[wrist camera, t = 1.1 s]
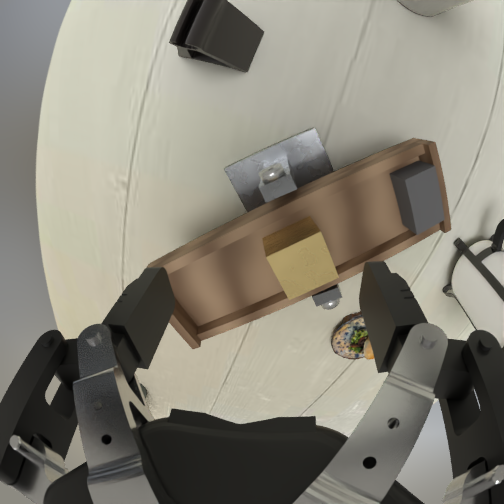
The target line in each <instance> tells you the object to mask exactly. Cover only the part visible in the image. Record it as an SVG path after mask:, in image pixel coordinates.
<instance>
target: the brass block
mask: <svg viewBox="0 0 504 504" xmlns="http://www.w3.org/2000/svg"><path fill="white" fill-rule="evenodd" d="M262 239H263V244H264V250H265V255H266V258H267V260H268V262H269V264H270V266H271V267H272V269H273V271H274V273H275V275H276V277H277V279H278V280H279V282H280V284H281V286H282V288H283V290H284V292H285V293H286V295H287V297H288V299H289V300H291V299H293V298H296V297H298V296H300V295H302V294H304V293H307V292H309V291H311V290H313V289H315V288H318V287H320V286H322V285H324V284H326V283H328V282H331V281H333V280H335V279H337V278H339V276H338V274H337V271H336V268H335V266H334V263H333V261H332V258H331V255H330V253H329V250H328V248H327V245H326V243H325V240H324V238H323V235H322V233H321V231H320V230H319V228H318V227H317V225H316V224H315V223H314V221H313V220H312V219H311V217H310V216H308V217H306V218H304V219H302V220H300V221H298V222H296V223H293V224H291V225H289V226H287V227H285V228H283V229H281V230H279V231H277V232H275V233H272V234H270V235H268V236H266V237H264V238H262Z"/></svg>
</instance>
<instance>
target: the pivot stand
mask: <svg viewBox="0 0 504 504" xmlns="http://www.w3.org/2000/svg"><path fill="white" fill-rule="evenodd" d="M224 170H225V172H226V174H227V176H228V177H229V179H230V181H231V183H232V185H233V186H234V188H235V190H236V192H237V194H238V196H239V197H240V199H241V201H242V203H243V205H244V207H245V209H246V210H247V212H250V211H252V210H254V209H256V208H258V207H260V206H262V205H264V204H266V203H268V202H270V201H272V200H274V199H277V198H279V197H281V196H283V195H285V194H287V193H290V192H292V191H294V190H297V189H298V188H300V187H302V186H304V185H306V184H308V183H311V182H313V181H315V180H317V179H319V178H321V177H324V176H326V175H328V174H330V173H333V172H334V171H333V168H332V166H331V163H330V161H329V158H328V156H327V154H326V151H325V149H324V147H323V145H322V142H321V140H320V138H319V136H318V133H317V131H316V129H315V128H311V129H309V130H306V131H304V132H301V133H299V134H297V135H294V136H292V137H289V138H287V139H285V140H283V141H280V142H278V143H276V144H274V145H271V146H269V147H267V148H265V149H262V150H260V151H258V152H256V153H254V154H252V155H250V156H248V157H245V158H243V159H241V160H239V161H237V162H235V163H233V164H231V165H229V166H227V167H226V168H225V169H224ZM312 298H313V300H314V302H315V304H316V306H319V305H321V306H322V307H323V308H324V309H333V308H335V307H336V306H337V305H338V304H339V302H340V299H339V298H342V296H341V292H340V288H339V285H338V284H335V285H333V286H331V287H329V288H327V289H325V290H323V291H321V292H318V293H316V294H314V295H312Z"/></svg>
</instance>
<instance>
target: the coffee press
mask: <svg viewBox="0 0 504 504" xmlns="http://www.w3.org/2000/svg"><path fill="white" fill-rule="evenodd" d="M503 240H504V219H503V220H502V221H501V222H500V223H499V224H498V226H497V229H496V231H495V235H492V236H491V241H489V240H483V241H479V242H476V243H475V244H473V245H471V246H470V247H469V248H468V247H467V246H466V245H465V244H464V243H463V241H462V240H461V239H460V238H459V239H458V240H457V241H456V242H455V243H454V244H455V246H456V247H457V248H458V250H459V251H460V252H461V254H462V256H461V257H460V258H459V260H458V262H457V264H456V266H455V268H454V271H453V275H452V285H447V286H445V287H444V288H443V292H444V293H445V295H446V296H448V297H454V298H455V299H456V300H457V299H458V300H459V301H458V300H457V301H458V303H459V302H460V303H461V304H460V303H459V304H460V306H461V305H462V306H463V307H462V306H461V307H462V309H463V308H464V309H465V310H464V309H463V310H464V312H465V311H466V312H467V313H466V312H465V313H466V315H467V314H468V315H469V316H468V315H467V316H468V318H469V317H470V318H469V320H470V319H471V320H472V321H471V320H470V321H471V323H472V322H473V323H474V324H473V323H472V325H473V326H474V325H475V326H474V328H475V327H476V328H477V329H476V328H475V329H476V330H485V331H488V332H489V333H491V334H492V335H494V336H495V338H496V339H497V340H498V342H499V344H500V346H501V348H502V350H503V352H504V249H503V248H502V243H503ZM449 289H453V292H454V294H455V296H456V297H457V298H456V297H455V296H454V295H453V294H451V293H446V292H447V291H448V290H449Z"/></svg>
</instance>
